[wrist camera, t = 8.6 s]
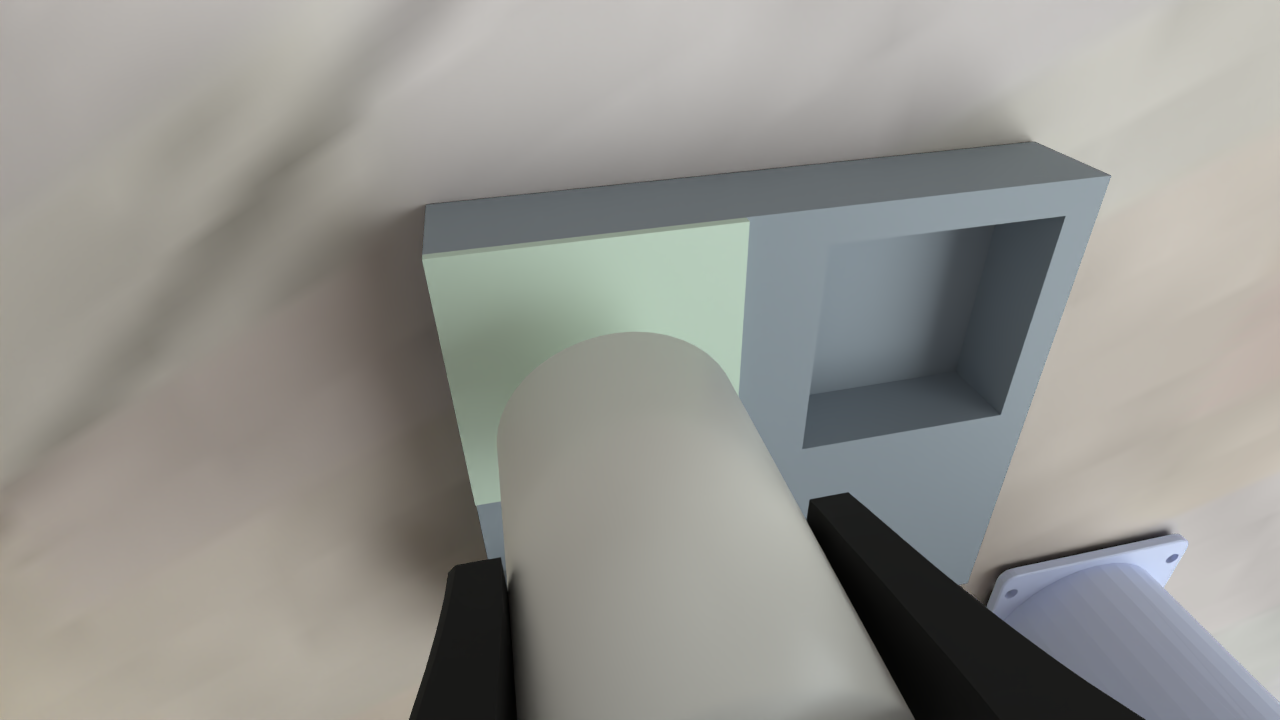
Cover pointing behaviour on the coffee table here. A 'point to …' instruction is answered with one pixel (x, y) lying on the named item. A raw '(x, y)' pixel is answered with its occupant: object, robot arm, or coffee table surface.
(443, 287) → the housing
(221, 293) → the coffee table surface
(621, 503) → the cylinder
